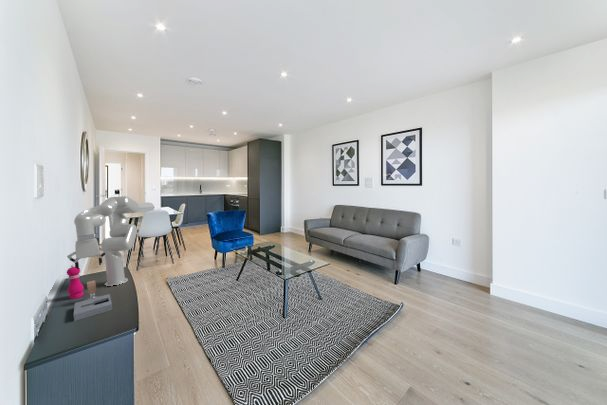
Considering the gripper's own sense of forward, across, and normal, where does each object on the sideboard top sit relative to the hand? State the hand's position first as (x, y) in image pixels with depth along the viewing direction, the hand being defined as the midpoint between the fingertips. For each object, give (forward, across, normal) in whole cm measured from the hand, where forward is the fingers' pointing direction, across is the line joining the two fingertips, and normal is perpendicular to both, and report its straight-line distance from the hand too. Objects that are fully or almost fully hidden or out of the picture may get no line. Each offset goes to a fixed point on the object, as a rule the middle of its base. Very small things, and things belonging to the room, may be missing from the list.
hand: (89, 266), depth 142 cm
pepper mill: (+20, +7, -14) cm, 26 cm away
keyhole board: (+20, 0, +14) cm, 25 cm away
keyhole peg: (+20, 0, 0) cm, 20 cm away
